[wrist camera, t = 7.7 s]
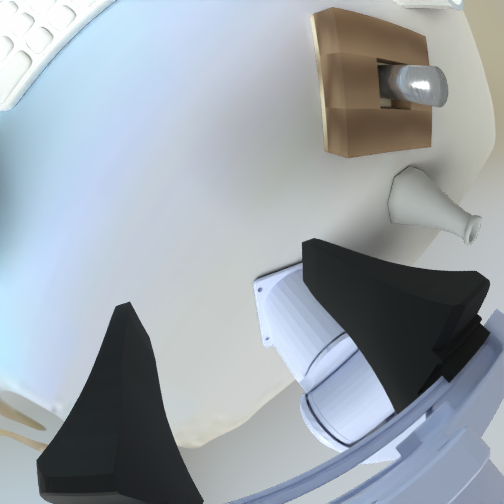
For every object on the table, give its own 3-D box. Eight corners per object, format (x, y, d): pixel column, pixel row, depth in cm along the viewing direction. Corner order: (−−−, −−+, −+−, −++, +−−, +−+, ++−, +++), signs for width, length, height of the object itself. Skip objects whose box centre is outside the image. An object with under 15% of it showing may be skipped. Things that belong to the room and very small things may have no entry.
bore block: (409, 140, 24) (431, 147, 22) (324, 151, 21) (347, 158, 19) (403, 37, 18) (425, 36, 15) (309, 15, 15) (332, 7, 12)
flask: (387, 170, 25) (468, 205, 17) (424, 161, 27) (493, 190, 19) (383, 230, 29) (450, 274, 21) (419, 214, 31) (479, 249, 23)
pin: (385, 100, 20) (446, 111, 15) (361, 94, 19) (425, 101, 14) (387, 69, 19) (448, 74, 13) (362, 61, 18) (426, 60, 12)
